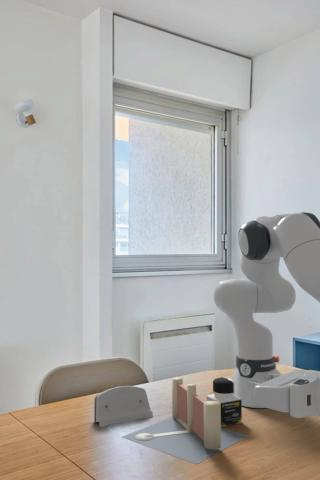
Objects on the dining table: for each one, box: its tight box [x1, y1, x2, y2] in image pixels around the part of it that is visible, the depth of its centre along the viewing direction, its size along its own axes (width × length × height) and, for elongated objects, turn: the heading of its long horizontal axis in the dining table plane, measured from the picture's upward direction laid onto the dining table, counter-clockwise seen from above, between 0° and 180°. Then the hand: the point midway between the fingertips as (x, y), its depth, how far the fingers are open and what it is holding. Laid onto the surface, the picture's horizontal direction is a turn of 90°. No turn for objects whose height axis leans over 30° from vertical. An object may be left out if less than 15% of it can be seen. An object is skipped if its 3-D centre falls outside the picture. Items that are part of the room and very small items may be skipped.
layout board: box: [121, 416, 249, 465], centre depth 122 cm, size 22×24×1 cm
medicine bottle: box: [206, 376, 243, 428], centre depth 133 cm, size 7×7×12 cm
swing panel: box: [193, 394, 222, 449], centre depth 117 cm, size 13×4×10 cm, turn 18°
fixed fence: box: [171, 377, 197, 433], centre depth 131 cm, size 14×3×12 cm, turn 18°
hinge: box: [93, 385, 154, 428], centre depth 137 cm, size 17×5×10 cm, turn 117°
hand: (257, 381), depth 108 cm, fingers open, 6 cm apart
